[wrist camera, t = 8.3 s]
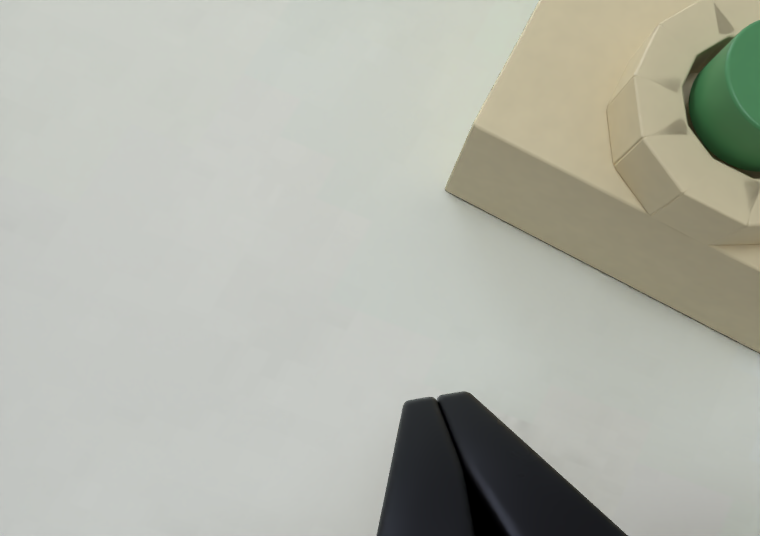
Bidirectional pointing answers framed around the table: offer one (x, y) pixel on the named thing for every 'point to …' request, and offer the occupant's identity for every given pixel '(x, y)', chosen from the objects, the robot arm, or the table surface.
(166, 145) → the table surface
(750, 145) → the power button
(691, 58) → the box
